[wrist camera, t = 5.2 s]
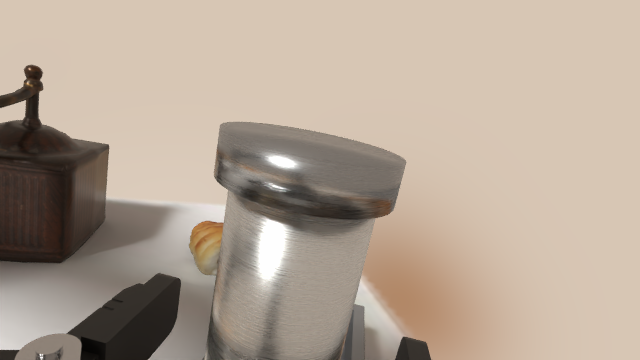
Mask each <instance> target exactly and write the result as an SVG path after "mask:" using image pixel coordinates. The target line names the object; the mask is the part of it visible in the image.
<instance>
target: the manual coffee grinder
mask: <svg viewBox="0 0 640 360" xmlns="http://www.w3.org/2000/svg"><path fill="white" fill-rule="evenodd" d="M24 72H25V75H26V78H27V79H26V80H25V81H24V86H23V87H22V88H21V89H19V90H17V91H15V92H13V93H10V94H6V95H2V96H0V108H2V107H5V106H9V105H12V104H15V103H18V102H21V101H24V100H26V113H25V118H24V119H23V120H16V121H10V122H5V123H0V260H1V261H14V262H48V263H61V262H63V261H64V260H66V259H67V258H69V257H70V256H72V255H73V254H74V253H75V252H76V251H77V250H78V249H79V248H80V247H81V246H82V245H83V244H84V243H85V242H86V241H87V240H88V239H89V238H90V237H91V236H92V235H93V233H94V232H95V231H96V230H97V229H98V227H99V226H100V225H101V224H102V223H103V222H104V220H105V200H106V185H107V170H108V154H109V145H108V144H102V143H96V142H90V141H84V140H78V139H72V138H70V137H69V136H68V135H66V134H65V133H63V132H60V131H58V130H56V129H54V128H52V127H50V126H47V125H42V123H41V122H40V120H39V116H38V105H39V91H42V90H43V84H42V82H41V81H40V79H41V77H42V74H43V72H42V71H41V69H40V68H39V67H38V66H34V65H28V66H26V67H25V69H24Z"/></svg>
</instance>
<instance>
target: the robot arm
mask: <svg viewBox="0 0 640 360" xmlns="http://www.w3.org/2000/svg"><path fill="white" fill-rule="evenodd" d="M180 287H181V281H180V279H179V278H176V277H172V276H168V275H164V274H161V273H158V274H156V275H155V276H154V277H153V278H151V279H150V280H149V281H148V282H146V283H145V284H144V285H143V284H140V283H139V284H136V285H134V286H131V287H129V288H126V289H124V290H122V291H121V292H120V293H119V294H117V295H116V296H115V297H113V298H112V300H109V301H108V302H107V303H106V304H104V305H103V307H102V308H99V309H98V310H97V311H95V312H94V313H93V314H91V315H90V316H89V317H87V318H86V319H85V320H84V321H82V322H81V323H80V324H78V325H77V326H76V327H75V328H73V329H72V330H71V331H69V332H68V333H67V334H52V335H47V336H44V337H41V338H38V339H36V340H34V341H32V342H30V343H28V344H27V345H25V346H24V347H23V348H22V349H21V350H0V360H148V359H149V358H150V356H151V355H152V354H153V353H154V352H155V350H156V349H157V348H158V347H159V346H160V345H161V343H162V342H163V341H164V340H165V339H166V337H167V336H168V335H169V334H170V332H171V331H172V329H173V327H174V324H175V322H176V318H177V312H178V304H179V295H180ZM395 360H431V358H430V354H429V350H428V347H427V344H426V342H424V341H420V340H416V339H412V338H408V337H403V338H402V340H401V342H400V346H399V349H398V352H397V356H396V359H395Z"/></svg>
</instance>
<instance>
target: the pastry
mask: <svg viewBox="0 0 640 360" xmlns="http://www.w3.org/2000/svg"><path fill="white" fill-rule="evenodd" d="M223 224H224V223H217V222H212V221H204V222H202V223H199V224H198V225H197V226H195V227H194V228H193V230H192V234H191V236H190V244H189V248H190V250H191V253H192V254H193V256H194V259H195V263H196V265H197V267H198V269H199V270H200V271H201V272H202V273H203V274H205V275H217V267H218V260H219V253H220V246H221V239H222V232H223Z"/></svg>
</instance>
